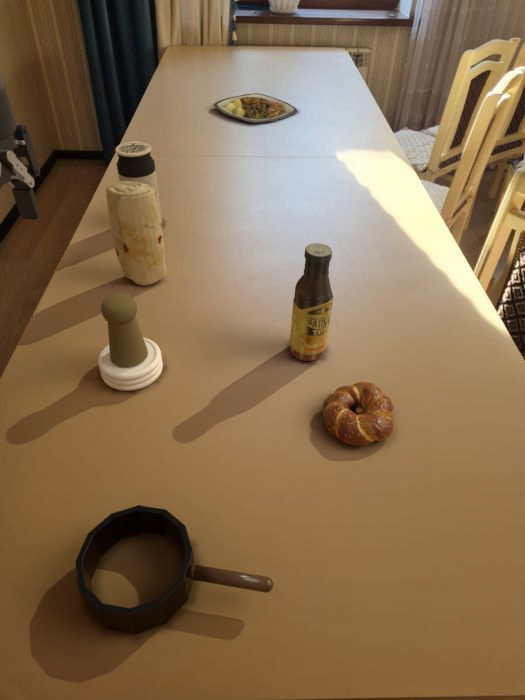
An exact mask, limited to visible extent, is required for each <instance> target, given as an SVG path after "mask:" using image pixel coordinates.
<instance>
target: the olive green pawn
mask: <svg viewBox="0 0 525 700" xmlns="http://www.w3.org/2000/svg"><path fill="white" fill-rule="evenodd" d="M100 312H101V315H102V317H103V319H104V320H105V321H106V322H107V332H108V345H109V348H110V360H111V362H112V363H113V364H115V365H116V366H119V367H126V368H128V367H134V366H136V365H139V364H140V363H142V362H143V361H144V360H145V359H146V358H147V356H148V349H147V347H146V344H145V341H144V339H143V338H144V337H143V333H142V331H141V328H140V325H139V323H138V320H137V313H138V305H137V301H136V300H135V298H133V296H132V295H130V294H128V293H124V292H123V293H122V292H118V293H117V292H116V293H112V294H110V295H108V296H106V297H105V298H104V299H103V301H102V303H101V306H100Z"/></svg>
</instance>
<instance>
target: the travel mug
mask: <svg viewBox="0 0 525 700" xmlns="http://www.w3.org/2000/svg"><path fill="white" fill-rule="evenodd" d="M151 151H152V146H151V144H149V143H147V142H144V141H138V140H137V141H126V142H123V143H120V144H118V145H117V146H116V147H115V149H114V152H115V154H116V155H117V157H118V159H117V162H116V169H117V174H118V175H117V176H118V180H119V181H134V182H138V183H142V184H148V185H150V186H152V187H153V188H154V190H155V193H156V202H157V206H158V210H159V214H160V219H161V225H162V226H163V216H162V210H161V202H160V201H161V200H160V194H159V187H158V186H159V185H158V179H157V171H156V163H155V160H154V159H153V157H152V156H151ZM119 181H118V182H119Z"/></svg>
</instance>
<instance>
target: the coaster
mask: <svg viewBox="0 0 525 700" xmlns="http://www.w3.org/2000/svg"><path fill="white" fill-rule="evenodd" d="M143 339H144V341H145V344H146V347H147V349H148V356H147V358H146V359H145V360H144V361H143V362H142V363H140V364H139V365H136V366H134V367H128V368H126V367H119V366H116V365H115V364H113V363H112V362H111V360H110V348H109V344H107V345H106V346H105V347H104V348H103V349H102V350H101V351H100V353H99V355H98V358H97V364H98V368H99V373H100V376H101V378H102V379H101V380H103V381H104V383H105V384H106V385H107V386H108V387H110V388H112V389H114V390H118V391H126V392H127V391H129V392H130V391H136V390H141V389H144V388H146V387H148V386H150V385H151V384H153V383H154V382H155V381H157V379H158V378H159V377H160V376H161V374H162V372H163V368H164V363H163V356H162V352H161V349H160V346H158V344H157V343H156V342H155V341H153V340H151V339H149V338H147V337H143Z"/></svg>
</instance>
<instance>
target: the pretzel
mask: <svg viewBox="0 0 525 700" xmlns="http://www.w3.org/2000/svg"><path fill="white" fill-rule="evenodd" d="M321 407H322V408H321V412H322V414H323V422H324V427H326V429H327V430H328V432H329V433H331V434H332V435H333V436H334V437H336V438H338V439H339V440H341V441H342V442H343V443H345V444H346V445H347V444H348V445H349V446H350V445H351V446H354V447H365V446H367V445H370V444H372V443H374V442H375V441H377V442H381V441H385V440H387V439H388V438H390V436H391V435H392V434H393V432H394V421H393V419H392V418H391V417H390V415H391V414H392V413H393V410H394V404H393V400H392V399H391V398H390V397H389V396H388V395H387V394H385V393H384V392H383V391H382V390H381V388H380V387H379V386H377V385H376V384H375V383H373V382H370V381H369V382H368V381H360V382H359V381H358V382H356V383H353V384H351V385H349V384H347V385H342V386H339V387H338V388H336V389H335V391H334V392H333V393H331V394H329V395H328V396H327V397H326V398H325V399H324V400H323V402H322V405H321Z"/></svg>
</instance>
